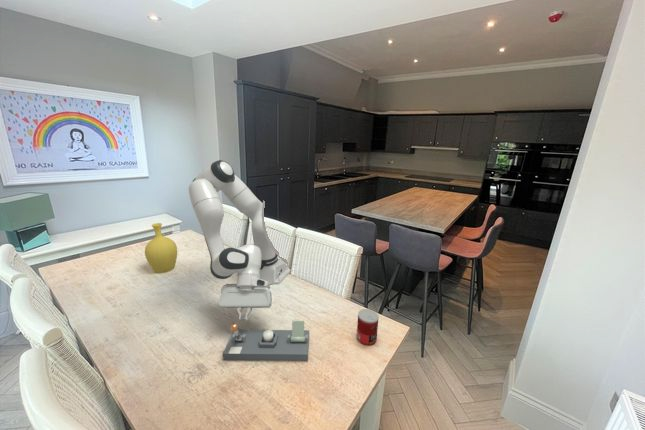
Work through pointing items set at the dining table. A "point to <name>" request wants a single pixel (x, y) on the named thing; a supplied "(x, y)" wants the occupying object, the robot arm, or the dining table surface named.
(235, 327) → the steel toggle
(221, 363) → the dining table surface
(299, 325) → the green paddle
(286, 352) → the switch panel
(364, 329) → the canned food
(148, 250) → the vase
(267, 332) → the push button
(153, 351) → the dining table surface
